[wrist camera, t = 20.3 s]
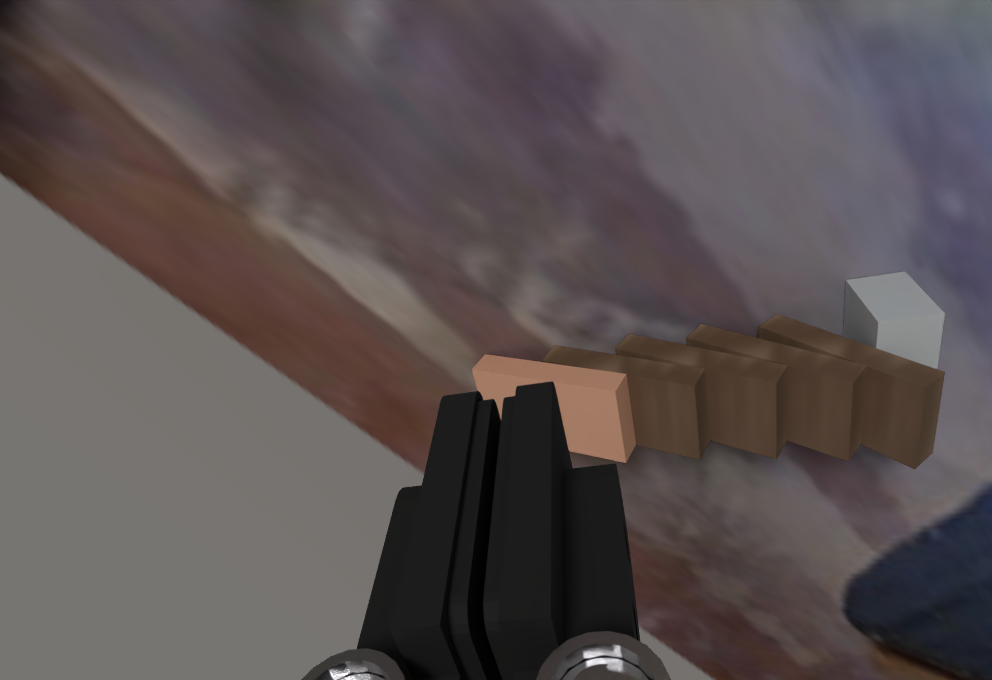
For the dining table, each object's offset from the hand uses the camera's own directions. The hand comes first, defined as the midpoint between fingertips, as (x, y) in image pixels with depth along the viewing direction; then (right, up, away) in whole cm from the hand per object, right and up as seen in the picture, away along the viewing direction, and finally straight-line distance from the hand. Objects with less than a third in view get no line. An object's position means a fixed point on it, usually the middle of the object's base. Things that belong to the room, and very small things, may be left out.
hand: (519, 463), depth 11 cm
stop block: (+21, +2, +29) cm, 36 cm away
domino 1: (-1, -2, +32) cm, 32 cm away
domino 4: (+11, 0, +30) cm, 32 cm away
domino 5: (+15, +1, +30) cm, 33 cm away
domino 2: (+3, -1, +32) cm, 32 cm away
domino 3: (+7, 0, +31) cm, 32 cm away
